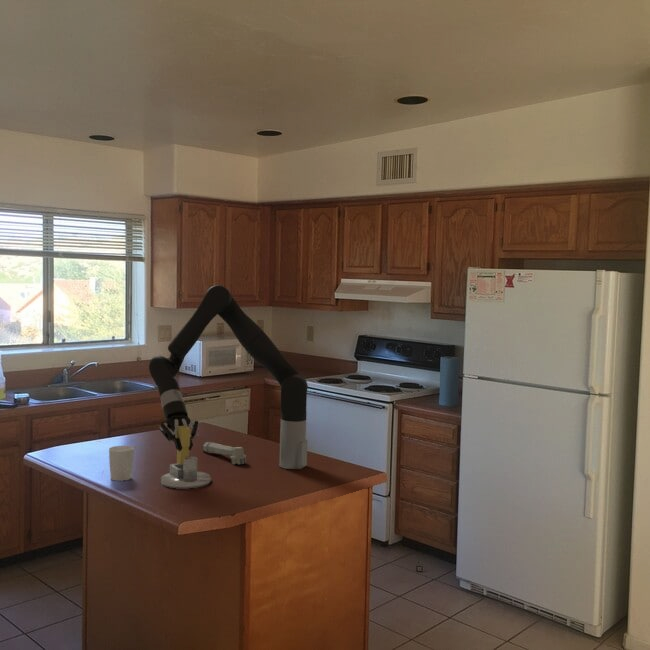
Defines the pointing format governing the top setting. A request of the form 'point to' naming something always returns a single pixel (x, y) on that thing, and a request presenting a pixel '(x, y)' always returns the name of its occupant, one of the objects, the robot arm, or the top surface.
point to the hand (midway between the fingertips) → (185, 449)
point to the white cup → (121, 462)
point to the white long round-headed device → (225, 451)
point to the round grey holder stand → (185, 475)
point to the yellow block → (183, 443)
